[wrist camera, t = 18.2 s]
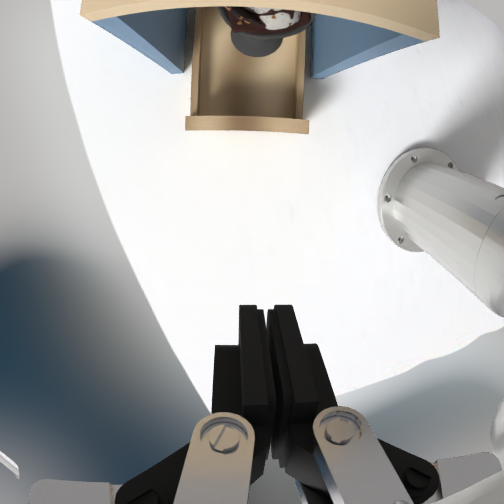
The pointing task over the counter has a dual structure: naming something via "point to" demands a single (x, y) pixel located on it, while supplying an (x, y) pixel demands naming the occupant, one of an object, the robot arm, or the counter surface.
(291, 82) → the tray
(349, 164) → the counter surface
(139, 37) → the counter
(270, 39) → the sundae
